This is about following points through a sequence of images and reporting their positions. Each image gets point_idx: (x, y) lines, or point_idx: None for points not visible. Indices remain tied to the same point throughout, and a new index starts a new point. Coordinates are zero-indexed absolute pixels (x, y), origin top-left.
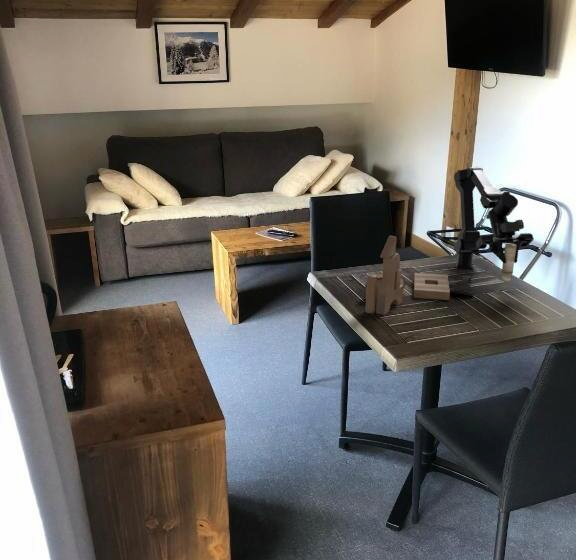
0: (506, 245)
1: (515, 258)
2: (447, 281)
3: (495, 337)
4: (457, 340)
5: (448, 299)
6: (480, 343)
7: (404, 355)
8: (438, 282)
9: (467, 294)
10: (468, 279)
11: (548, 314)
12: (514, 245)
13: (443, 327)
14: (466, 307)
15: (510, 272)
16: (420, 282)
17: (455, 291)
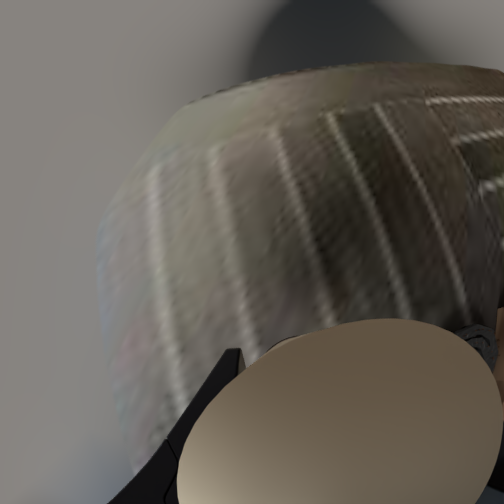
0: (497, 424)
1: (237, 373)
2: None
3: (390, 73)
4: (455, 81)
5: (500, 308)
6: (417, 64)
7: (500, 73)
8: None
9: (457, 330)
10: None
11: (190, 178)
12: (257, 459)
13: (489, 129)
14: (459, 242)
15: (291, 337)
16: None
17: (494, 338)
